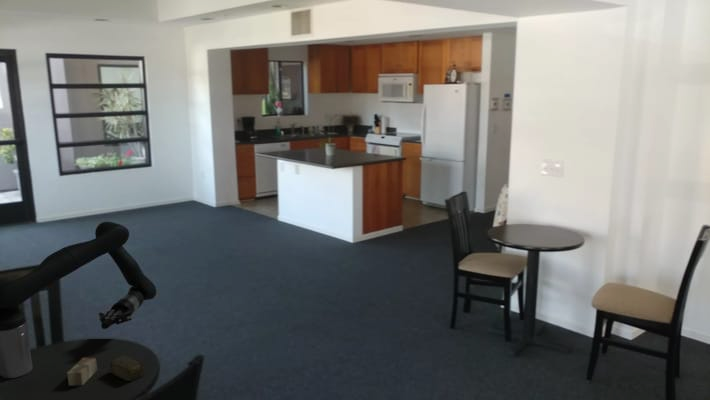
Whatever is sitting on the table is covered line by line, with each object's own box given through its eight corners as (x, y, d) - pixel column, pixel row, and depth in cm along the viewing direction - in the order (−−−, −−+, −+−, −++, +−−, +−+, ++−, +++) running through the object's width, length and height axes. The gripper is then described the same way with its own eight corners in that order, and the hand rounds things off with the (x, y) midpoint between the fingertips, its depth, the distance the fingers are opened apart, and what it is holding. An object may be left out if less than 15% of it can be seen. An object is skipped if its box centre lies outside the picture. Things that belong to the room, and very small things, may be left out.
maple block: (84, 369, 191) (68, 385, 181) (83, 357, 190) (67, 372, 180) (97, 369, 191) (82, 385, 181) (95, 357, 190) (80, 373, 180)
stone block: (129, 383, 182) (128, 370, 181) (109, 374, 188) (107, 360, 187) (145, 375, 187) (143, 362, 186) (124, 366, 193) (122, 353, 192)
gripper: (107, 298, 217) (84, 316, 200) (141, 298, 216) (120, 316, 199) (109, 316, 218) (87, 335, 201) (142, 316, 218) (122, 336, 201)
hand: (104, 326), depth 200 cm, fingers closed
